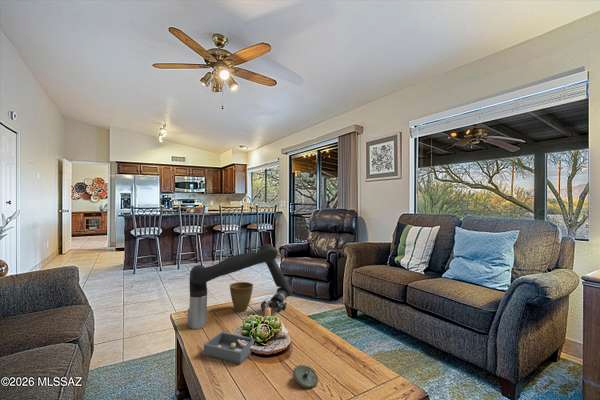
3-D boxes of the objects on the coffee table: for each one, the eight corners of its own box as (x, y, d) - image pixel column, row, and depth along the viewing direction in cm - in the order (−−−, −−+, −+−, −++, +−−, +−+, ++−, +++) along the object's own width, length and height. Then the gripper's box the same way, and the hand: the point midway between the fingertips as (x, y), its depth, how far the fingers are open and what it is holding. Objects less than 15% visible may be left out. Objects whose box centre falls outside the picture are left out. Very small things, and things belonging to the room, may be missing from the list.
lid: (303, 370, 122) (303, 358, 122) (322, 380, 116) (323, 367, 116) (287, 382, 114) (287, 370, 114) (307, 393, 108) (308, 380, 108)
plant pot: (254, 306, 193) (255, 282, 193) (248, 315, 179) (249, 289, 179) (233, 304, 195) (234, 281, 195) (225, 313, 180) (226, 287, 180)
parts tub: (203, 355, 131) (203, 344, 131) (221, 341, 144) (221, 331, 144) (240, 364, 125) (240, 353, 125) (255, 349, 138) (255, 338, 138)
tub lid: (250, 343, 144) (251, 315, 144) (246, 330, 158) (247, 305, 158) (288, 338, 151) (289, 312, 151) (281, 326, 165) (281, 302, 165)
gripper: (266, 293, 176) (258, 302, 160) (289, 295, 173) (282, 304, 157) (266, 305, 176) (257, 315, 160) (289, 307, 173) (282, 318, 157)
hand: (270, 310), depth 159 cm, fingers open, 8 cm apart
